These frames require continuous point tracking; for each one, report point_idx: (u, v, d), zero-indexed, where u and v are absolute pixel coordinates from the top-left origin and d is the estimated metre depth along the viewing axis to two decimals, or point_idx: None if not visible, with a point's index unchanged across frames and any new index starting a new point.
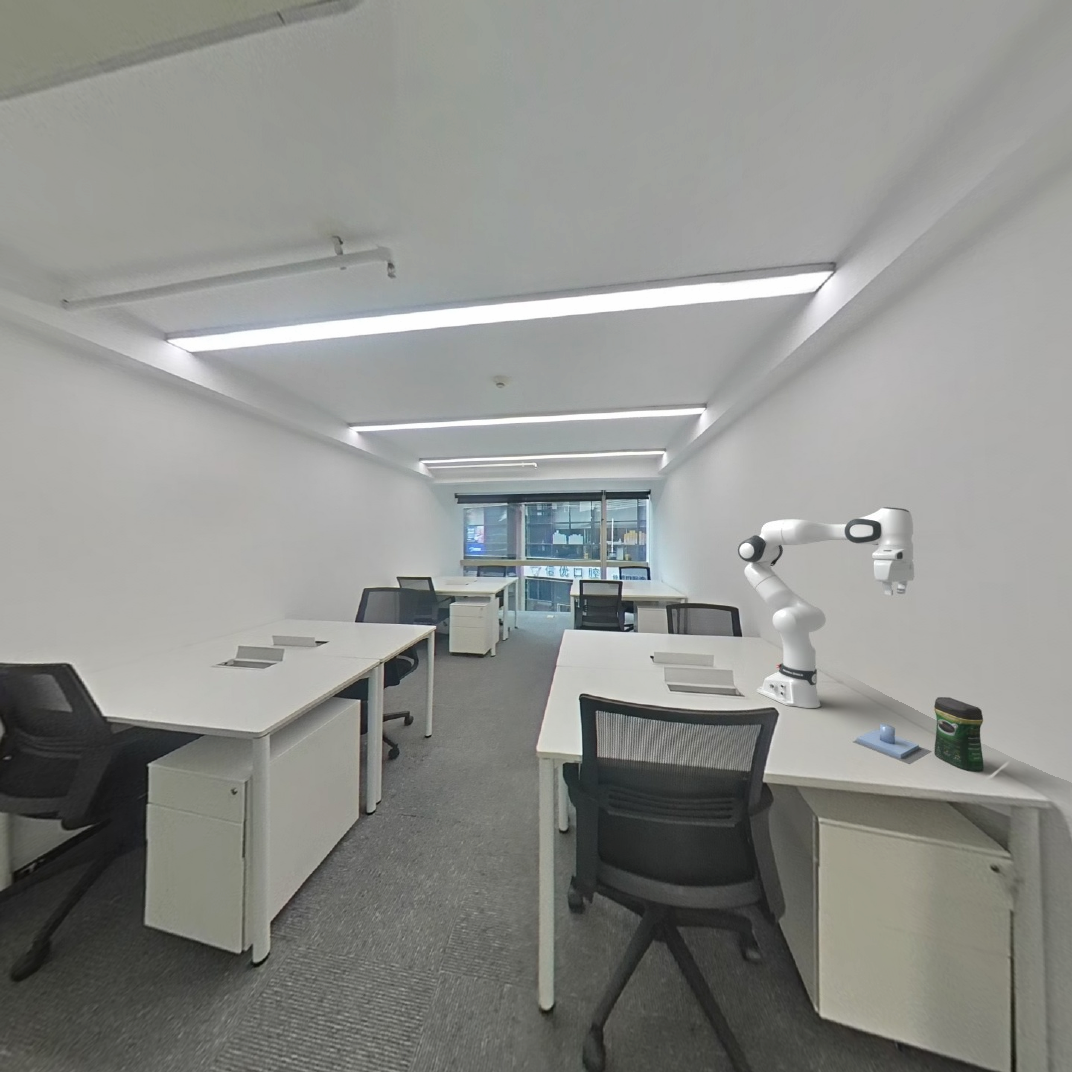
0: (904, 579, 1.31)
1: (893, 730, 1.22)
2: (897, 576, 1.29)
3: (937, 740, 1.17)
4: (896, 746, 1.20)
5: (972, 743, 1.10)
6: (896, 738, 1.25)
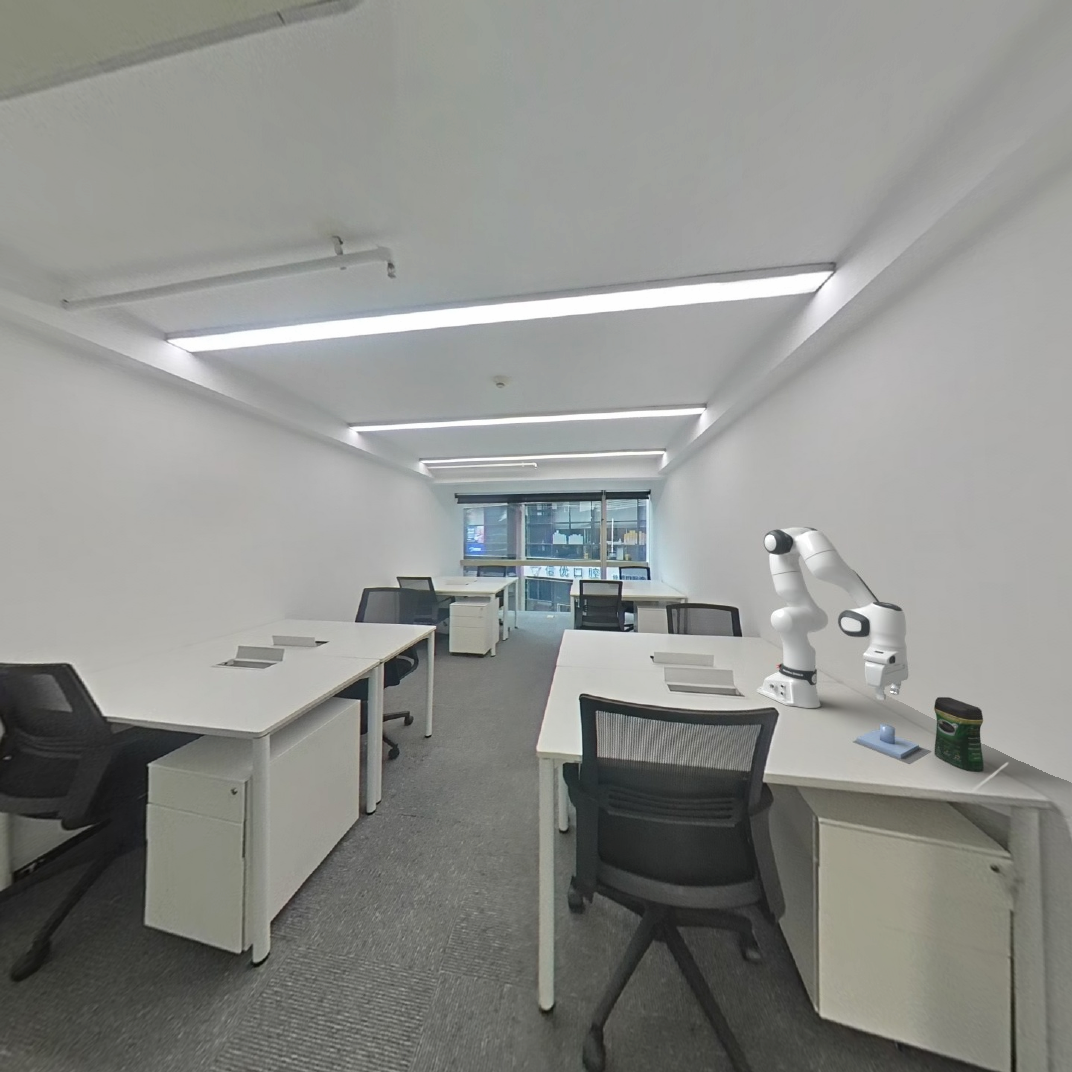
0: (897, 681, 1.23)
1: (893, 730, 1.22)
2: (890, 680, 1.20)
3: (937, 740, 1.17)
4: (896, 746, 1.20)
5: (972, 743, 1.10)
6: (896, 738, 1.25)
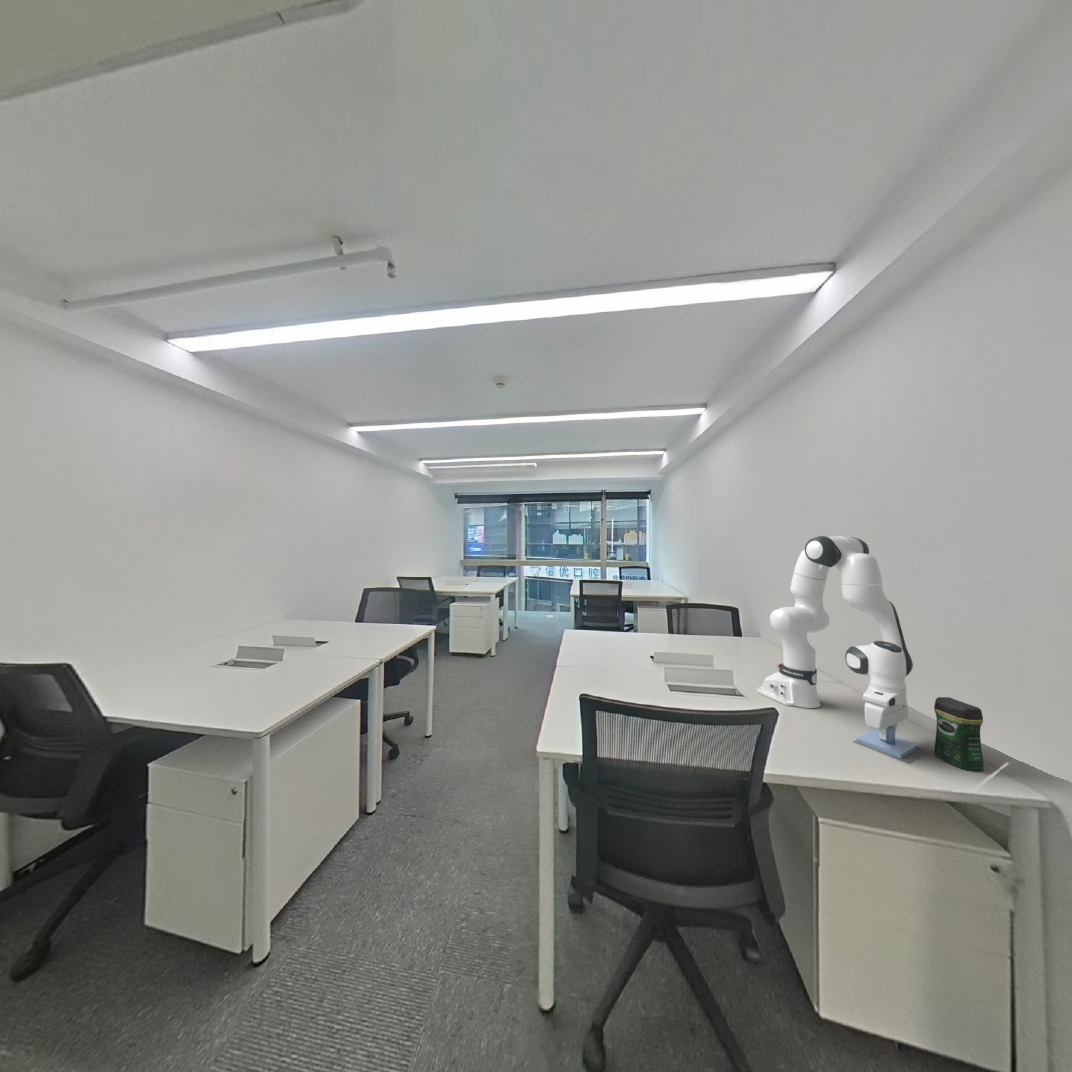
0: (897, 721, 1.23)
1: (893, 730, 1.22)
2: (889, 721, 1.20)
3: (937, 740, 1.17)
4: (896, 746, 1.20)
5: (972, 743, 1.10)
6: (896, 738, 1.25)
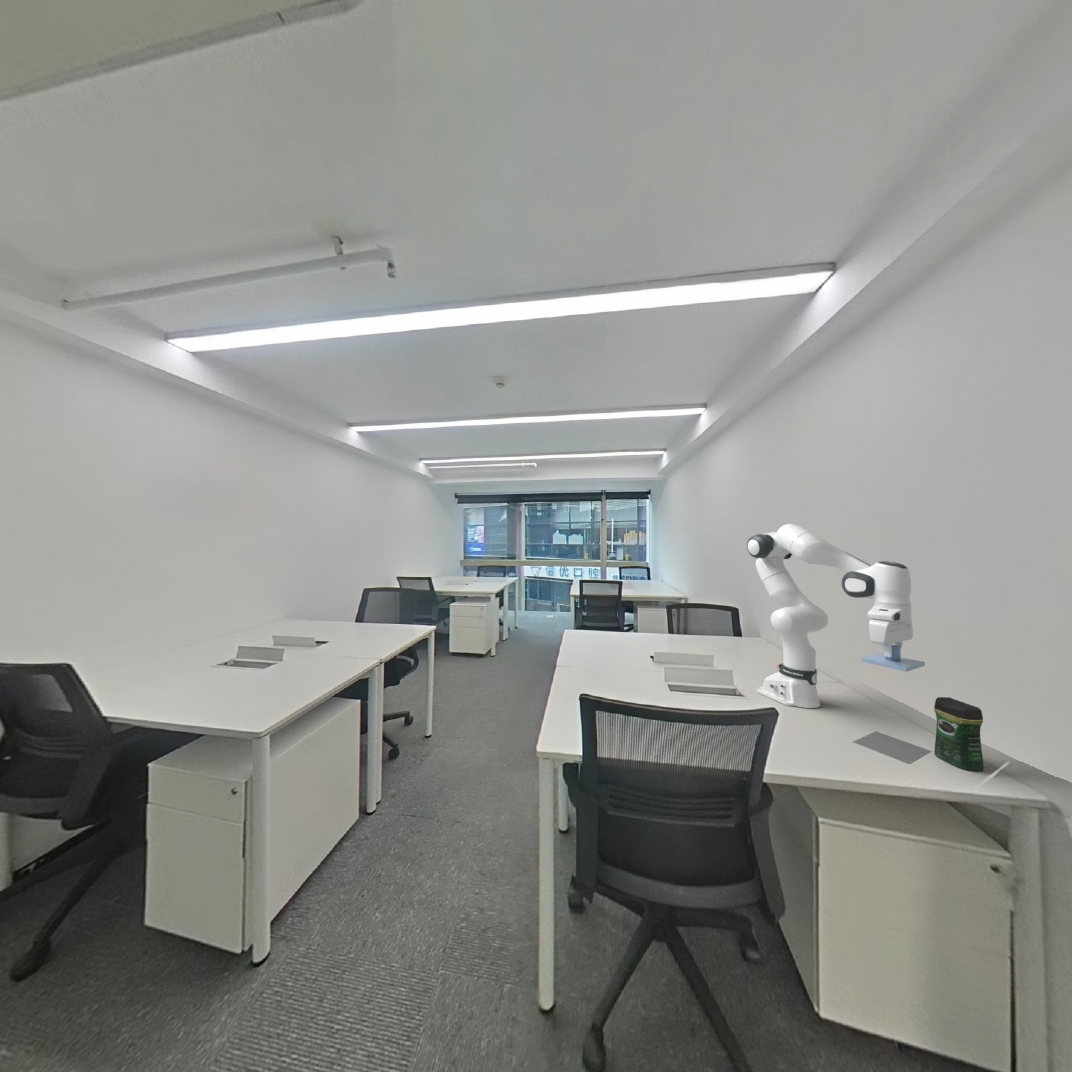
0: (902, 639, 1.22)
1: (898, 647, 1.21)
2: (894, 637, 1.20)
3: (937, 740, 1.17)
4: (902, 662, 1.20)
5: (972, 743, 1.10)
6: (902, 658, 1.25)
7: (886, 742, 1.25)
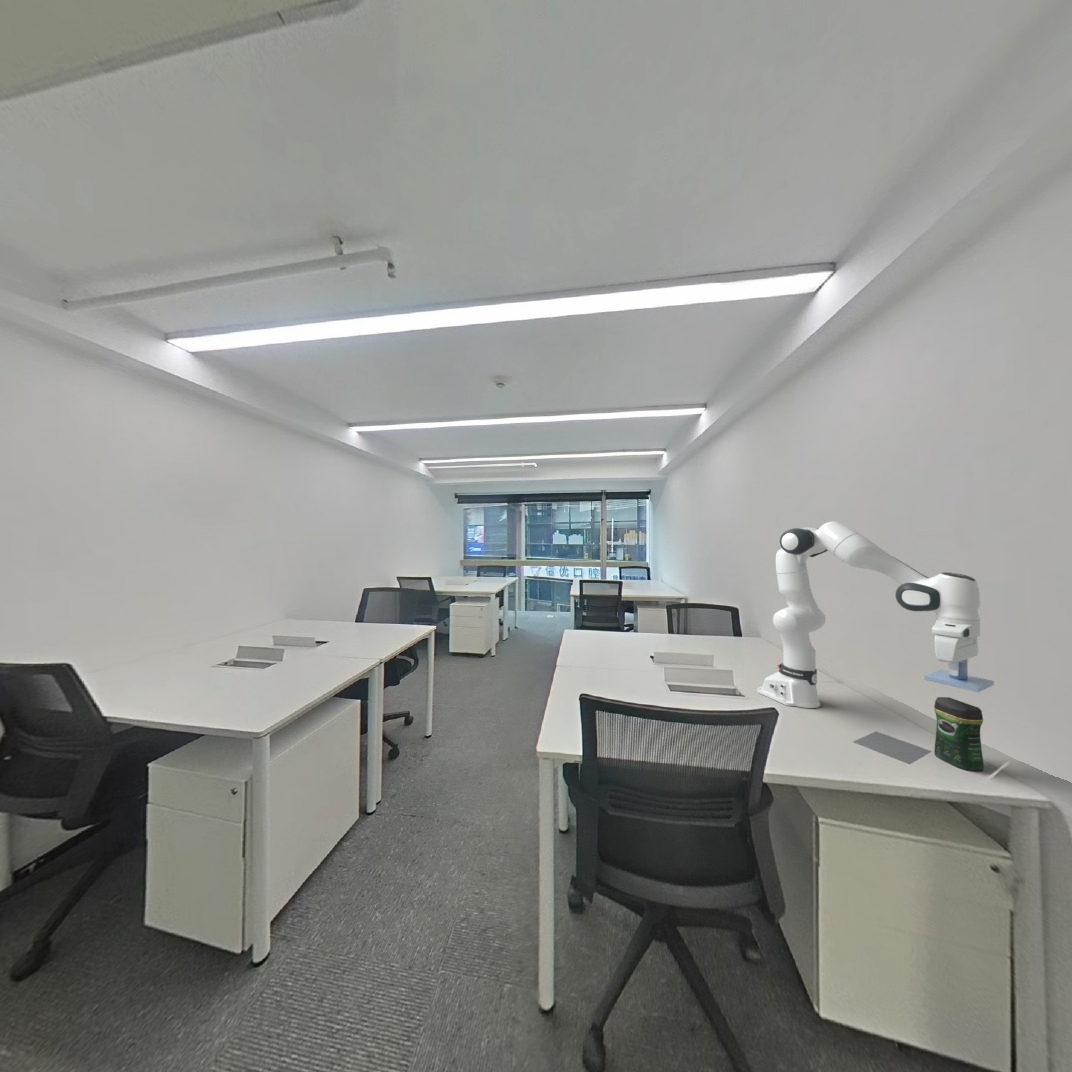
0: (968, 657, 1.14)
1: (966, 665, 1.13)
2: (962, 655, 1.11)
3: (937, 740, 1.17)
4: (970, 682, 1.11)
5: (972, 743, 1.10)
6: None
7: (886, 742, 1.25)
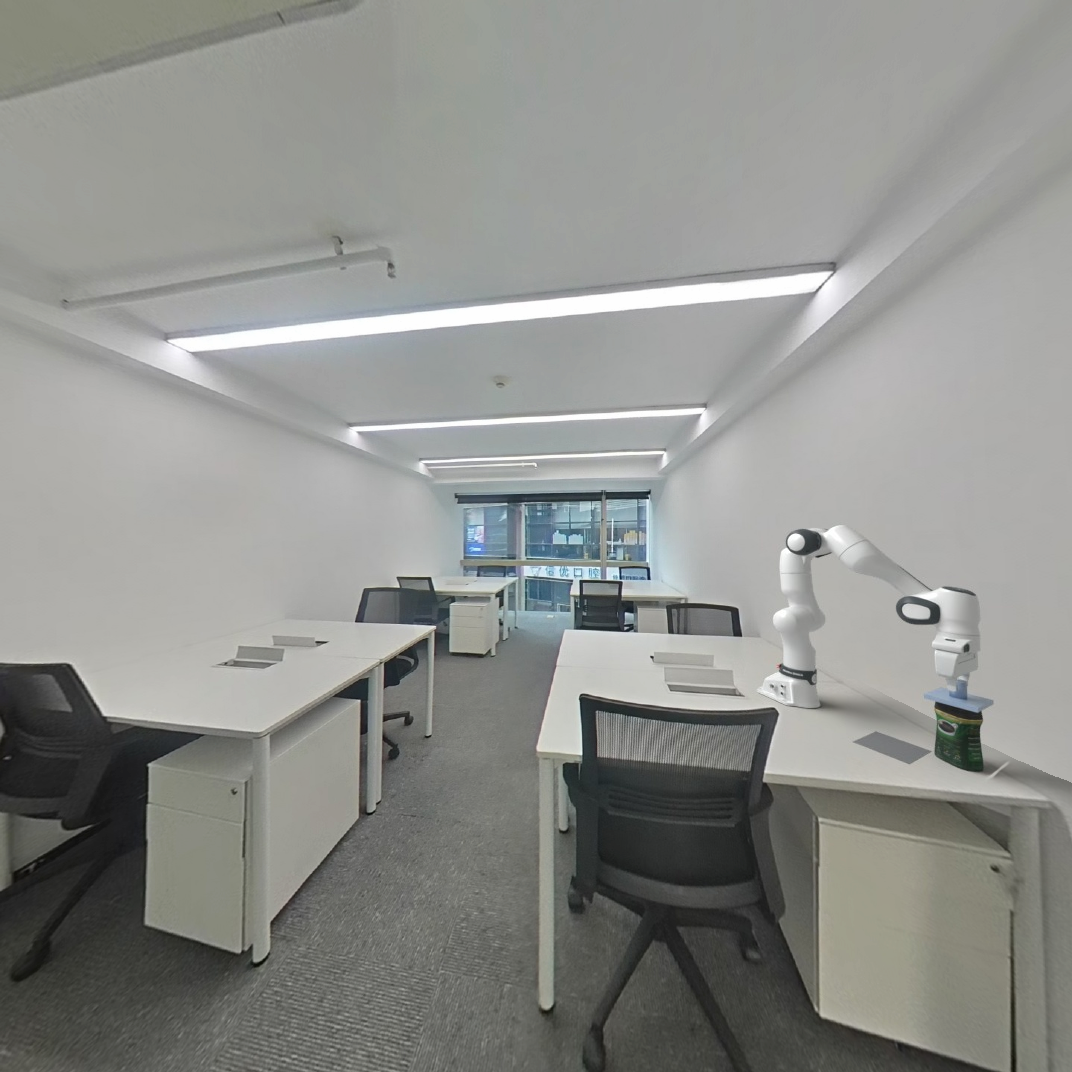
0: (968, 671, 1.14)
1: (965, 685, 1.13)
2: (962, 670, 1.11)
3: (937, 740, 1.17)
4: (970, 701, 1.11)
5: (972, 743, 1.10)
6: (966, 694, 1.16)
7: (886, 742, 1.25)
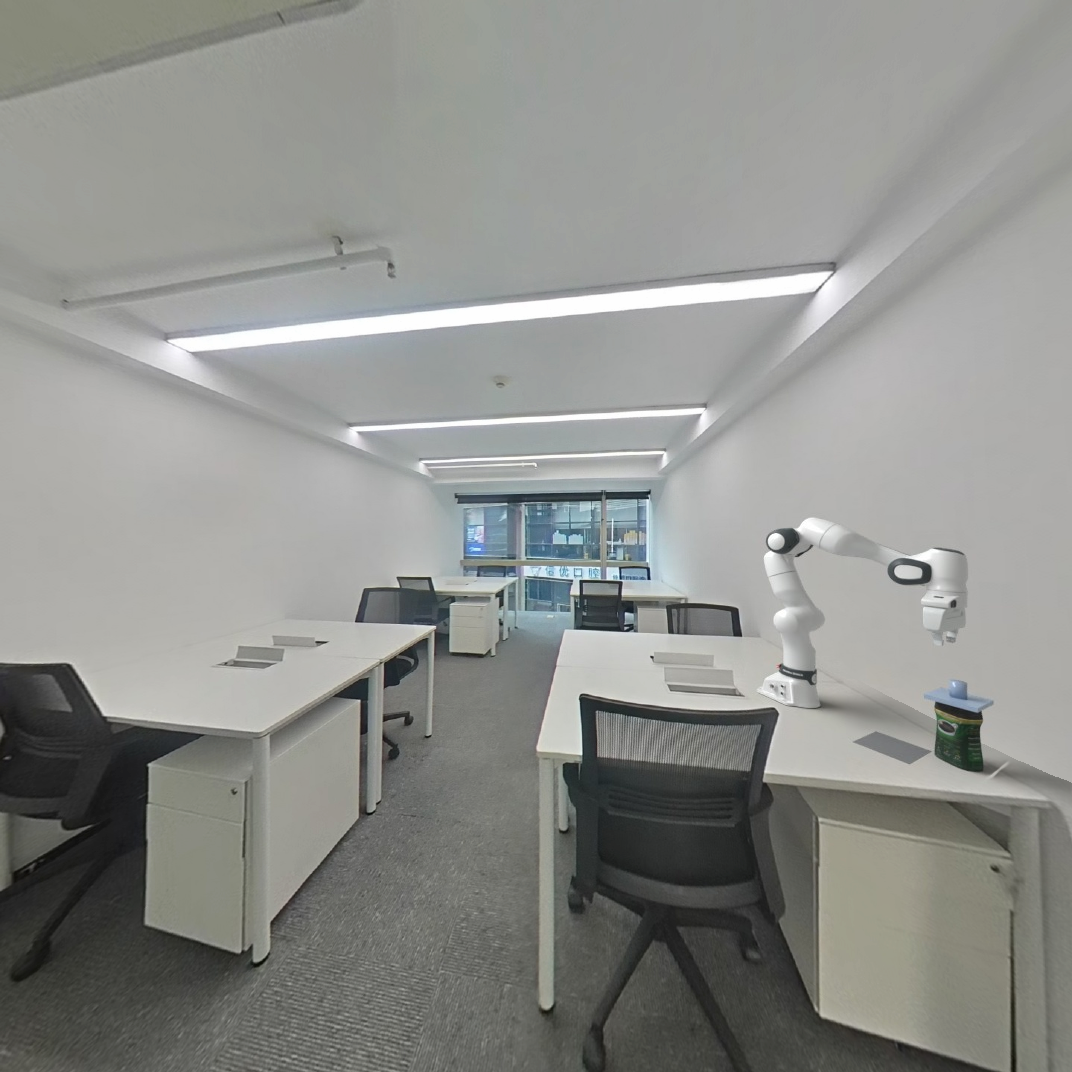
0: (955, 627, 1.19)
1: (965, 685, 1.13)
2: (949, 625, 1.17)
3: (937, 740, 1.17)
4: (970, 701, 1.11)
5: (972, 743, 1.10)
6: (967, 695, 1.16)
7: (886, 742, 1.25)
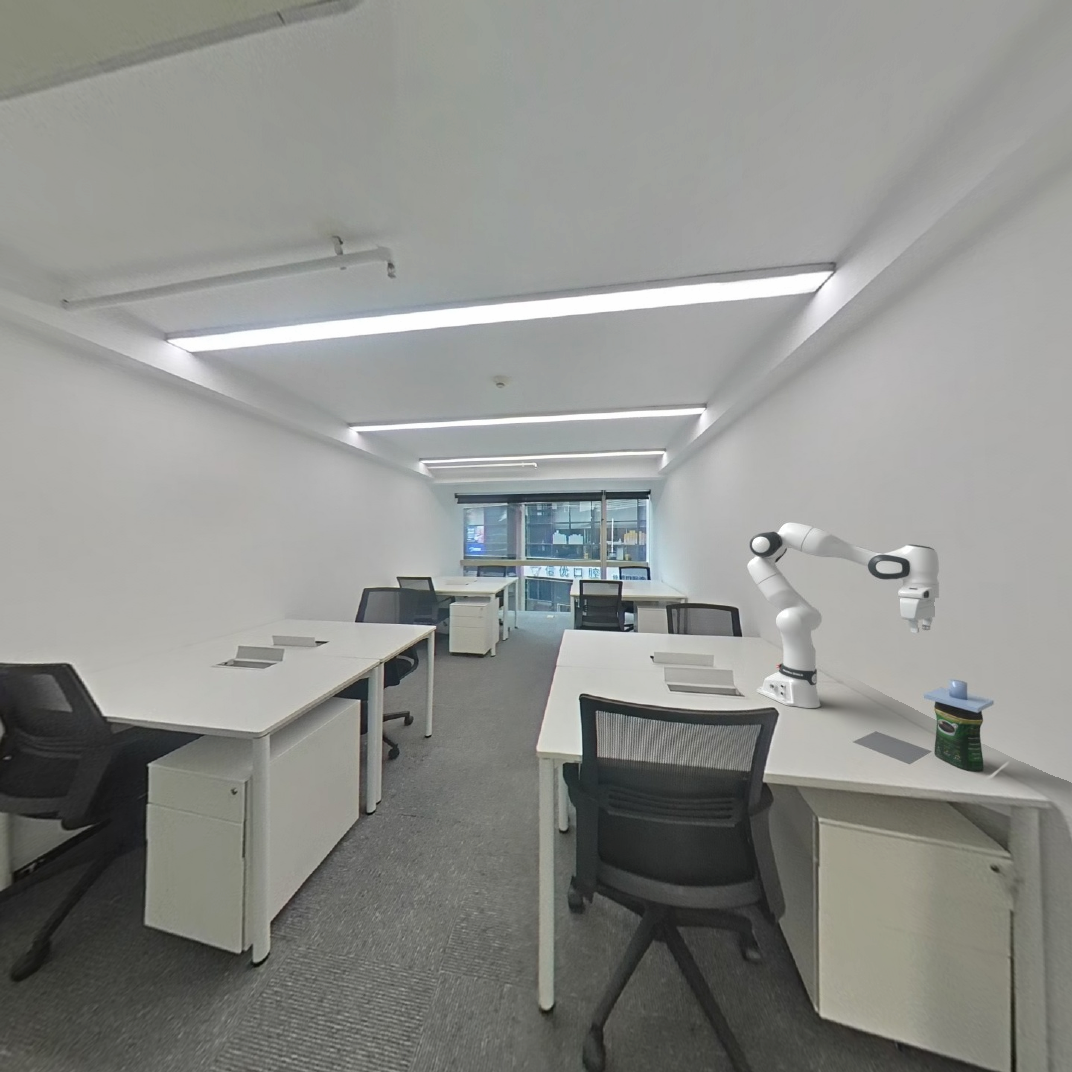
0: (929, 616, 1.33)
1: (965, 685, 1.13)
2: (923, 614, 1.30)
3: (937, 740, 1.17)
4: (970, 701, 1.11)
5: (972, 743, 1.10)
6: (967, 695, 1.16)
7: (886, 742, 1.25)
